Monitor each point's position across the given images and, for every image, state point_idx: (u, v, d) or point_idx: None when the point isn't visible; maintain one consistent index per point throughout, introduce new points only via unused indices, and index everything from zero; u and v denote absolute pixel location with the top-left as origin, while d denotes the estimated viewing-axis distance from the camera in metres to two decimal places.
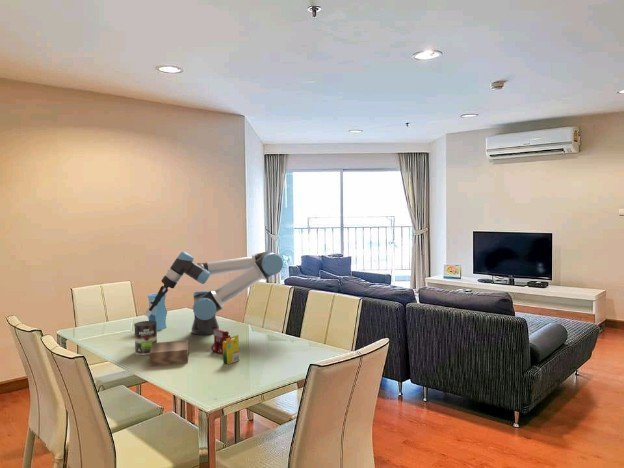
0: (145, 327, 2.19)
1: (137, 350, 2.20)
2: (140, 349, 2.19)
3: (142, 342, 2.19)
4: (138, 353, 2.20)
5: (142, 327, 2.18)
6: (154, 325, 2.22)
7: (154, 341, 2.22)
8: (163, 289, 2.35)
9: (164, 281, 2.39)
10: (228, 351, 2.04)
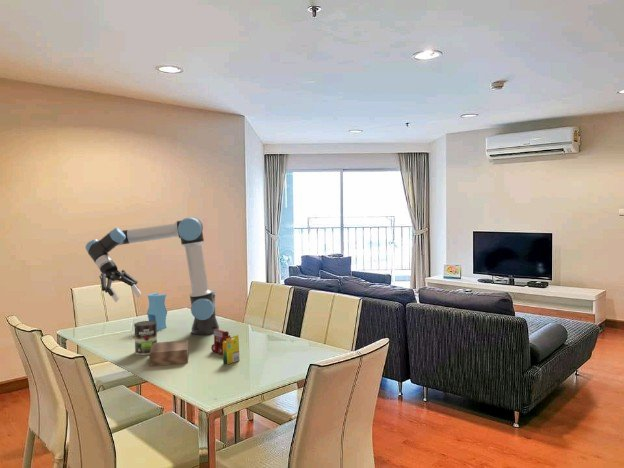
0: (145, 327, 2.19)
1: (137, 350, 2.20)
2: (140, 349, 2.19)
3: (142, 342, 2.19)
4: (138, 353, 2.20)
5: (142, 327, 2.18)
6: (154, 325, 2.22)
7: (154, 341, 2.22)
8: (100, 276, 2.26)
9: (102, 273, 2.31)
10: (228, 351, 2.04)
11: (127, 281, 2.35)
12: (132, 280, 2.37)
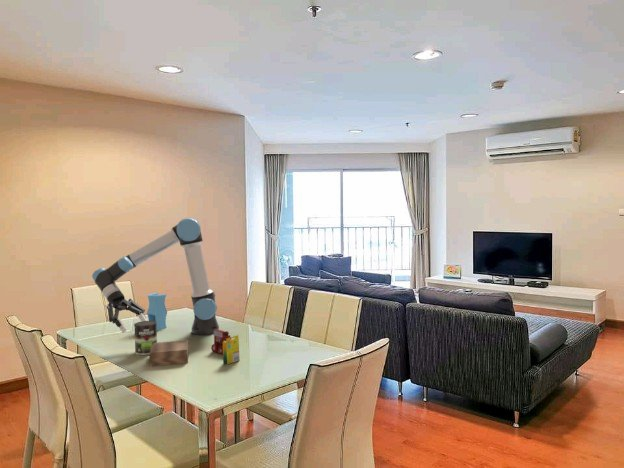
0: (145, 327, 2.19)
1: (137, 350, 2.20)
2: (140, 349, 2.19)
3: (142, 342, 2.19)
4: (138, 353, 2.20)
5: (142, 327, 2.18)
6: (154, 325, 2.22)
7: (154, 341, 2.22)
8: (107, 306, 2.24)
9: (109, 302, 2.29)
10: (228, 351, 2.04)
11: (134, 310, 2.32)
12: (139, 309, 2.35)
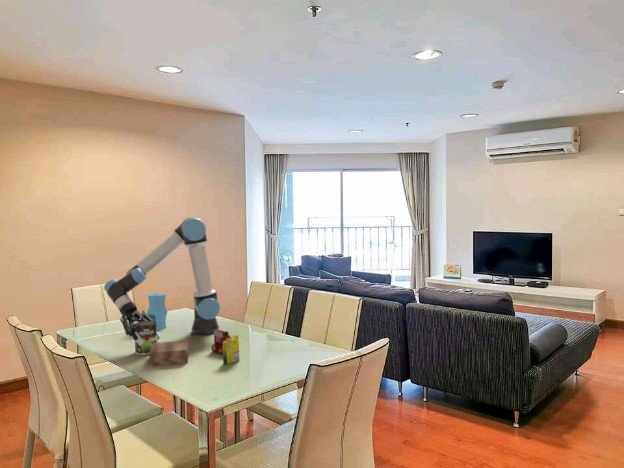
0: (145, 327, 2.19)
1: (137, 350, 2.20)
2: (140, 349, 2.19)
3: None
4: (138, 353, 2.20)
5: (142, 327, 2.19)
6: (154, 325, 2.22)
7: (154, 341, 2.22)
8: (121, 319, 2.21)
9: None
10: (228, 351, 2.04)
11: None
12: None
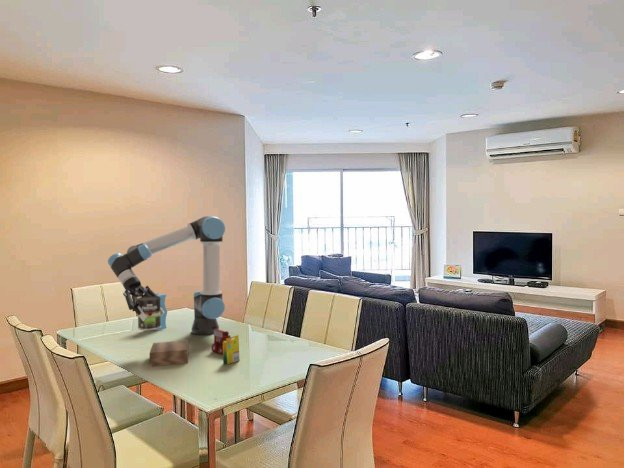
0: (148, 302, 2.13)
1: (140, 325, 2.14)
2: (143, 324, 2.14)
3: None
4: (141, 328, 2.14)
5: (145, 302, 2.13)
6: (158, 300, 2.16)
7: (157, 317, 2.16)
8: (124, 293, 2.16)
9: (125, 289, 2.21)
10: (228, 351, 2.04)
11: None
12: None
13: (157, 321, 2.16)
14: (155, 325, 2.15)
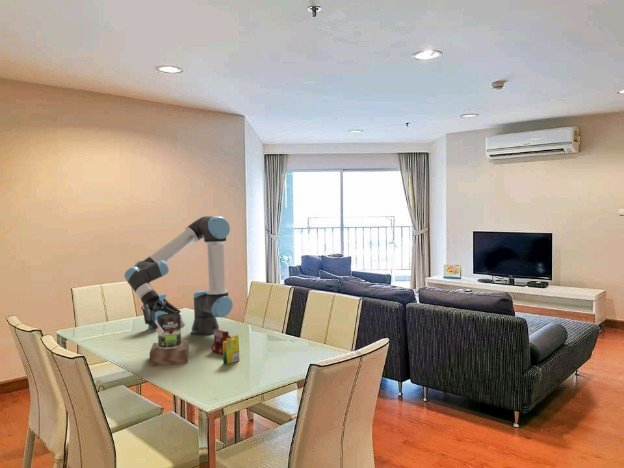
0: (169, 320, 2.07)
1: (161, 344, 2.08)
2: (164, 343, 2.07)
3: (166, 335, 2.07)
4: (162, 347, 2.08)
5: (166, 320, 2.07)
6: (178, 318, 2.10)
7: (178, 334, 2.10)
8: (142, 307, 2.09)
9: (143, 303, 2.14)
10: (228, 351, 2.04)
11: (170, 311, 2.18)
12: (175, 310, 2.20)
13: (178, 339, 2.10)
14: (176, 344, 2.09)
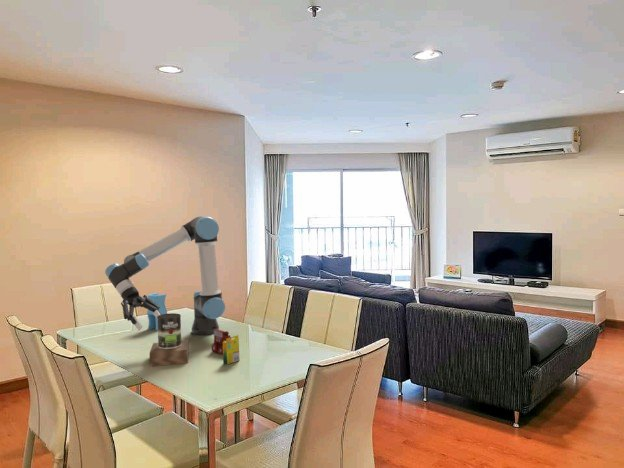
0: (169, 320, 2.07)
1: (161, 344, 2.08)
2: (164, 343, 2.07)
3: (166, 335, 2.07)
4: (162, 347, 2.08)
5: (166, 320, 2.07)
6: (178, 318, 2.10)
7: (178, 334, 2.10)
8: (122, 303, 2.15)
9: (123, 299, 2.20)
10: (228, 351, 2.04)
11: (149, 307, 2.24)
12: (154, 305, 2.26)
13: (178, 339, 2.10)
14: (176, 344, 2.09)
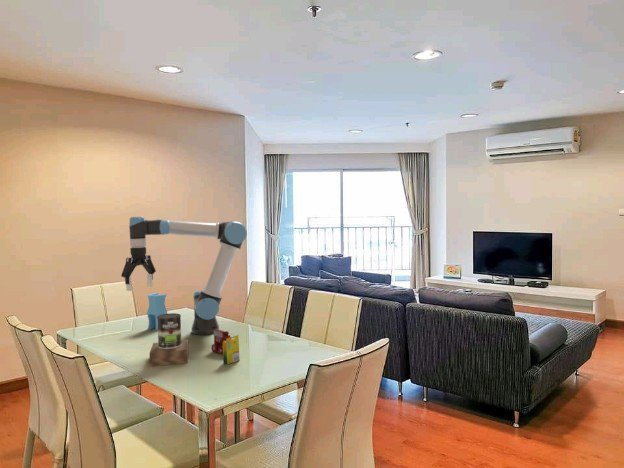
0: (169, 320, 2.07)
1: (161, 344, 2.08)
2: (164, 343, 2.07)
3: (166, 335, 2.07)
4: (162, 347, 2.08)
5: (166, 320, 2.07)
6: (178, 318, 2.10)
7: (178, 334, 2.10)
8: (127, 259, 2.30)
9: (130, 252, 2.34)
10: (228, 351, 2.04)
11: (147, 269, 2.40)
12: (151, 268, 2.43)
13: (178, 339, 2.10)
14: (176, 344, 2.09)
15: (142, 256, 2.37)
